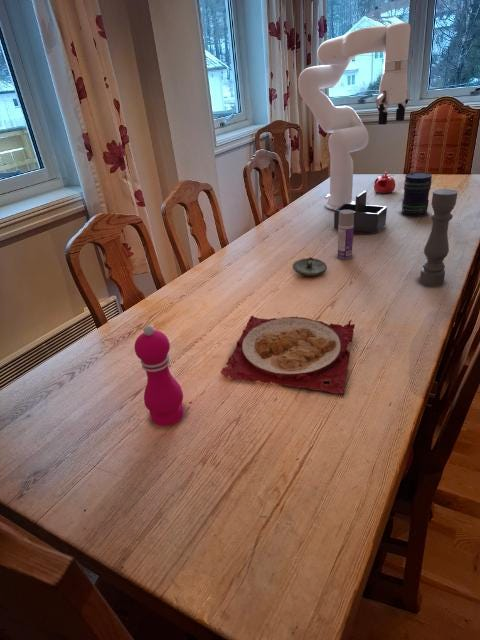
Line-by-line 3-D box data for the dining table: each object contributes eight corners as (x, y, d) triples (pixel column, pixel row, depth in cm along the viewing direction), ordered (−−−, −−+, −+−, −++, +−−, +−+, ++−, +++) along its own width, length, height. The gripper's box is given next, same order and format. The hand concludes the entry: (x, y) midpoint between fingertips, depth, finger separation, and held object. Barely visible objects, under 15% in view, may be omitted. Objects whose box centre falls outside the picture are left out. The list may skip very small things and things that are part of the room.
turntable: (329, 228, 166) (329, 227, 166) (357, 218, 173) (357, 217, 173) (362, 238, 154) (362, 237, 154) (390, 226, 162) (390, 225, 162)
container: (351, 253, 143) (353, 209, 135) (353, 259, 139) (355, 213, 131) (336, 254, 143) (338, 209, 136) (338, 259, 139) (339, 214, 132)
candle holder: (442, 277, 122) (457, 188, 109) (444, 287, 117) (459, 195, 104) (419, 276, 124) (431, 188, 111) (419, 285, 119) (432, 195, 106)
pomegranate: (386, 188, 210) (388, 168, 205) (399, 192, 201) (401, 171, 197) (368, 191, 207) (370, 171, 203) (381, 195, 199) (382, 175, 194)
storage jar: (432, 212, 172) (437, 174, 164) (416, 218, 167) (421, 179, 160) (411, 208, 179) (415, 171, 172) (395, 213, 175) (399, 176, 167)
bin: (333, 228, 164) (334, 195, 158) (343, 220, 171) (345, 188, 165) (376, 233, 156) (379, 198, 150) (385, 224, 163) (388, 191, 157)
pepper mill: (150, 404, 85) (129, 318, 75) (186, 400, 85) (170, 313, 75) (146, 430, 79) (122, 340, 69) (186, 425, 79) (167, 334, 69)
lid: (305, 266, 140) (301, 252, 138) (332, 264, 134) (329, 249, 132) (289, 280, 133) (285, 266, 131) (317, 279, 127) (313, 263, 125)
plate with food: (251, 322, 110) (250, 310, 108) (354, 329, 102) (355, 316, 100) (219, 380, 91) (217, 367, 89) (343, 394, 83) (343, 380, 81)
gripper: (401, 66, 152) (397, 119, 161) (369, 70, 144) (366, 125, 153) (420, 64, 147) (415, 119, 155) (388, 68, 139) (384, 126, 147)
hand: (391, 122), depth 154 cm, fingers open, 9 cm apart
